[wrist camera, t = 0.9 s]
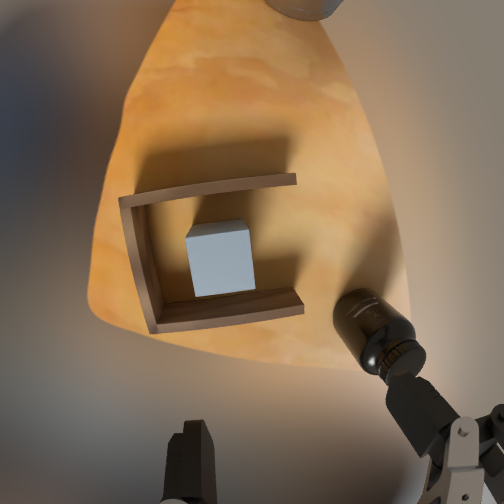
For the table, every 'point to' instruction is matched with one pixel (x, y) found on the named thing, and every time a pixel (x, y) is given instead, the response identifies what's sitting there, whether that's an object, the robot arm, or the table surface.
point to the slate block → (220, 257)
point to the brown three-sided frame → (206, 310)
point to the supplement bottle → (377, 335)
